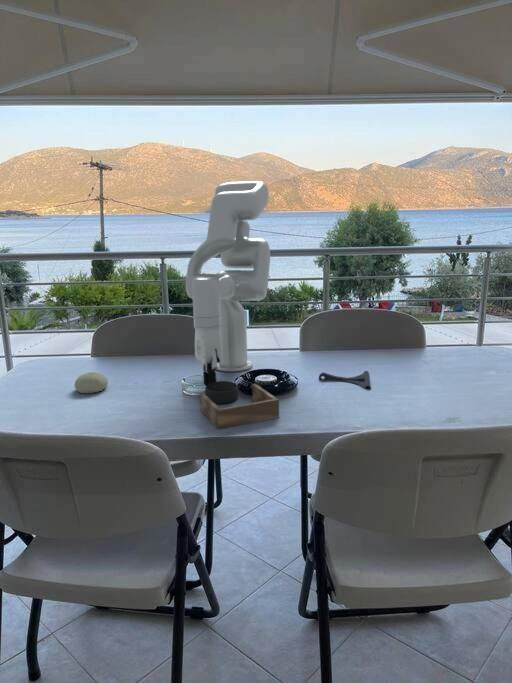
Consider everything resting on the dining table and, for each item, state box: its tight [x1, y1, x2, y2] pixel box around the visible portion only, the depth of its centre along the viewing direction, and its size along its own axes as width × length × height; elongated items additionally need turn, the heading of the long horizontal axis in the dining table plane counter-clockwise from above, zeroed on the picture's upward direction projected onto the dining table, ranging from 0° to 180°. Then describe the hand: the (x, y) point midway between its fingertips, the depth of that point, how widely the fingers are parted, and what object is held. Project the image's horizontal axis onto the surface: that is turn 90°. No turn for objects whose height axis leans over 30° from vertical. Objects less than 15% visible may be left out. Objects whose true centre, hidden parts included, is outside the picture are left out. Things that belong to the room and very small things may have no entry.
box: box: [198, 383, 280, 430], centre depth 119 cm, size 14×16×4 cm
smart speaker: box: [204, 380, 239, 405], centre depth 130 cm, size 9×9×4 cm
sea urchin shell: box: [74, 371, 109, 394], centre depth 140 cm, size 9×8×8 cm
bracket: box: [318, 370, 372, 390], centre depth 143 cm, size 14×15×3 cm
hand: (210, 384), depth 138 cm, fingers closed
